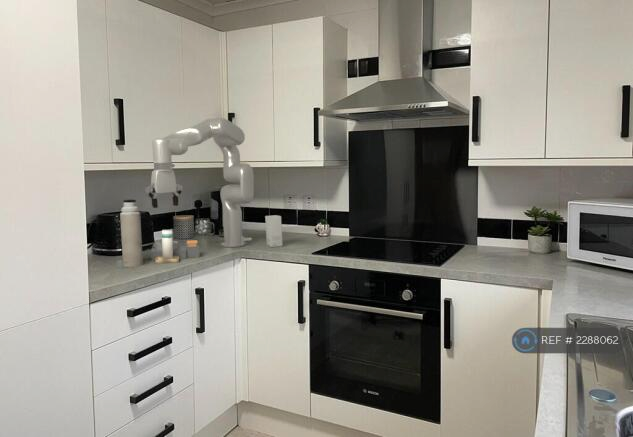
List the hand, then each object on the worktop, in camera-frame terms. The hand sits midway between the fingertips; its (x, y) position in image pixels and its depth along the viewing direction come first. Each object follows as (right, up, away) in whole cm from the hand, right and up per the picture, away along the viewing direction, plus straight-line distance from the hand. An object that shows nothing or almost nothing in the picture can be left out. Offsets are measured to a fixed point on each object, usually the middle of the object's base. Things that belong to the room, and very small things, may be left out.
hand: (165, 206), depth 221 cm
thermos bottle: (-12, -25, -5) cm, 29 cm away
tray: (0, -24, +2) cm, 24 cm away
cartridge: (0, -23, +2) cm, 24 cm away
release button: (+9, -22, +13) cm, 27 cm away
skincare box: (+44, -20, +39) cm, 62 cm away
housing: (+2, -23, +12) cm, 26 cm away
